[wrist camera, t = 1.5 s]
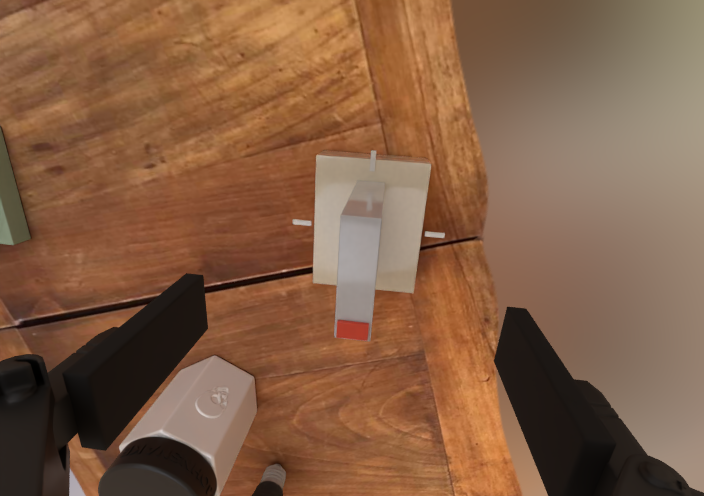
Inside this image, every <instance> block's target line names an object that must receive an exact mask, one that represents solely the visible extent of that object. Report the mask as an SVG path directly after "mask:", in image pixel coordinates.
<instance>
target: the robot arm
mask: <svg viewBox="0 0 704 496" xmlns="http://www.w3.org/2000/svg"><path fill="white" fill-rule="evenodd" d="M207 329H208V324H207V312H206V301H205V290H204V279H203V275H196V274H187V273H186V274H185V275H184V276H183V277H182V278H180V279H179V280H178V281H177V282H175V283H174V284H173V285H172V286H170V287H169V288H168V289H167V290H165V291H164V292H163V293H162V294H160V295H159V296H158V297H157V298H155V299H154V300H153V301H152V302H150V303H149V304H148V305H147V306H145V307H144V308H143V309H142V310H140V311H139V312H138V313H137V314H135V315H134V316H133V317H132V318H130V319H129V320H128V321H127V322H125V323H124V324H123V325H122V326H120V327H119V328H118V327H113V328H111V329H108V330H106V331H104V332H102V333H100V334H98V335H97V336H95V337H94V338H93V339H91V340H90V341H89V342H87V343H86V345H84V346H82V347H81V348H80V349H78V350H77V351H76V353H73V354H72V355H71V356H69V357H68V358H67V359H65V360H64V361H63V362H61V363H60V364H59V365H57V366H56V367H55V368H54V369H52V370H51V371H50V372H48V373H47V370H46V366H45V363H44V360H43V357H41V356H39V355H34V354H26V355H20V356H15V357H12V358H8V359H5V360H3V361H1V362H0V496H69V472H70V450H69V447H68V442H69V441H70V440H71V439H72V438H73V437H74V436H75V435H76V434H77V433H78V435H79V438H80V442H81V446H82V447H84V448H91V449H98V450H105V451H106V450H107V448H108V447H109V446H110V445H111V444H112V443H113V441H114V440H115V439H116V438H117V437H118V435H119V434H120V433H121V432H122V431H123V429H124V428H125V427H126V426H127V425H128V423H129V422H130V421H131V420H132V419H133V417H134V416H135V415H136V414H137V413H138V411H139V410H140V409H141V408H142V407H143V405H144V404H145V403H146V402H147V401H148V400H149V398H150V397H151V396H152V395H153V394H154V392H155V391H156V390H157V389H158V388H159V386H160V385H161V384H162V383H163V382H164V380H165V379H166V378H167V377H168V376H169V374H170V373H171V372H172V371H173V370H174V368H175V367H176V366H177V365H178V364H179V362H180V361H181V360H182V359H183V358H184V357H185V355H186V354H187V353H188V352H189V351H190V349H191V348H192V347H193V346H194V345H195V343H196V342H197V341H198V340H199V339H200V337H201V336H202V335H203V334H204V333H205V331H206V330H207ZM494 362H495V365H496V367H497V370H498V372H499V375H500V377H501V380H502V382H503V385H504V387H505V390H506V392H507V395H508V397H509V400H510V402H511V404H512V407H513V409H514V411H515V414H516V417H517V419H518V422H519V424H520V426H521V429H522V432H523V434H524V437H525V439H526V442H527V444H528V446H529V449H530V451H531V454H532V456H533V459H534V461H535V464H536V466H537V469H538V471H539V474H540V476H541V479H542V481H543V484H544V486H545V489H546V491H547V494H548V496H704V493H703V492H700V491H697V490H695V489H692V488H690V487H689V486H688V484H687V483H686V481H685V480H684V478H683V477H682V476H681V475H679V474H678V473H677V472H676V471H675V470H674V469H673V468H671V467H670V466H668V465H667V464H665V463H664V462H662V461H660V460H658V459H655V458H653V457H651V456H648V455H647V454H646V452H645V451H644V450H643V448H642V447H641V446H640V444H639V443H638V442H637V440H636V439H635V437H634V436H633V435H632V433H631V432H630V431H629V429H628V428H627V427H626V425H625V424H624V423H623V421H622V420H621V419H620V418H618V414H617V413H616V412H615V410H614V409H613V408H611V405H610V404H609V402H608V401H607V400H606V398H605V397H604V395H603V394H602V393H601V392H600V391H599V390H598V389H596V388H595V387H594V386H593V385H591V384H590V383H589V382H588V381H583V380H574V379H573V378H572V376H571V375H570V373H569V372H568V370H567V369H566V368H565V366H564V364H563V363H562V361H561V360H560V358H559V357H558V355H557V354H556V352H555V351H554V349H553V348H552V346H551V345H550V343H549V342H548V341H547V339H546V338H545V336H544V334H543V333H542V332H541V330H540V329H539V327H538V326H537V324H536V323H535V321H534V320H533V318H532V317H531V315H530V314H529V312H528V311H527V309H524V308H515V307H507V310H506V314H505V319H504V322H503V327H502V330H501V335H500V339H499V343H498V347H497V351H496V355H495V359H494Z"/></svg>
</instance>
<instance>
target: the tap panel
mask: <svg viewBox="0 0 704 496" xmlns="http://www.w3.org/2000/svg"><path fill="white" fill-rule="evenodd" d="M430 171H431V163H430V161H429V160H428V158H418V157H405V156H392V155H379V154H376V151H375V150H371V154H366V153H353V152H340V151H327V150H323V151H322V152H320V153H319V154H317V155H316V178H315V216H314V254H313V283H319V284H328V285H337V272H338V253H339V234H340V216H341V213H342V211H343V209H344V207H345V205H346V203H347V201H348V199H349V197H350V195H351V193H352V190H353V188H354V186H355V184H356V182H357V180H362V181H374V182H385V193H384V204H383V214H382V225H381V235H380V246H379V256H378V267H377V277H376V287H375V289H377V290H386V291H396V292H405V293H414V287H415V279H416V272H417V265H418V258H419V251H420V243H421V236H422V229H423V222H424V215H425V207H426V200H427V193H428V186H429V179H430ZM293 224H296V225H307V226H311V221H308V220H297V219H293ZM444 235H445V233H440V232H429V231H425V236H426V237H437V238H444Z"/></svg>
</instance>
